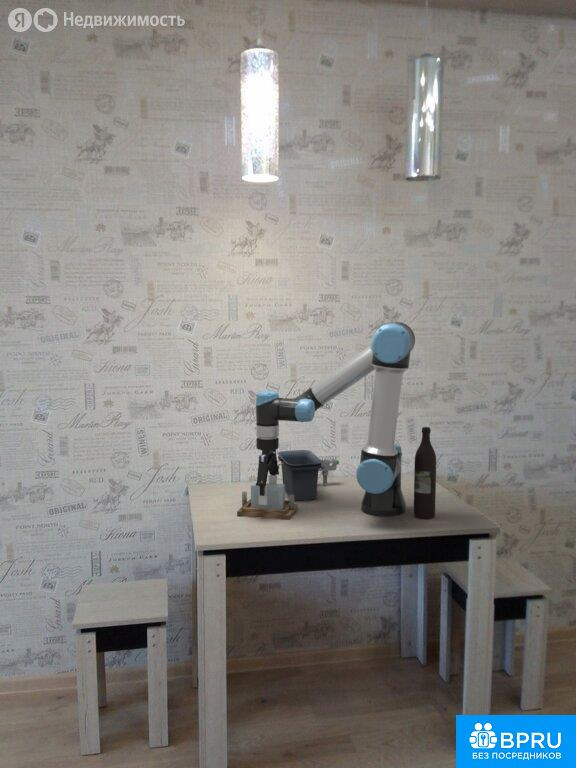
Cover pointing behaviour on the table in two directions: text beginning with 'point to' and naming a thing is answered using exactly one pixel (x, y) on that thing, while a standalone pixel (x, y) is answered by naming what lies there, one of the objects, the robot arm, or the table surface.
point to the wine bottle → (425, 478)
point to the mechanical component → (328, 468)
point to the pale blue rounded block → (269, 497)
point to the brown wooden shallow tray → (267, 513)
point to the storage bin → (300, 473)
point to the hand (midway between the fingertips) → (267, 499)
